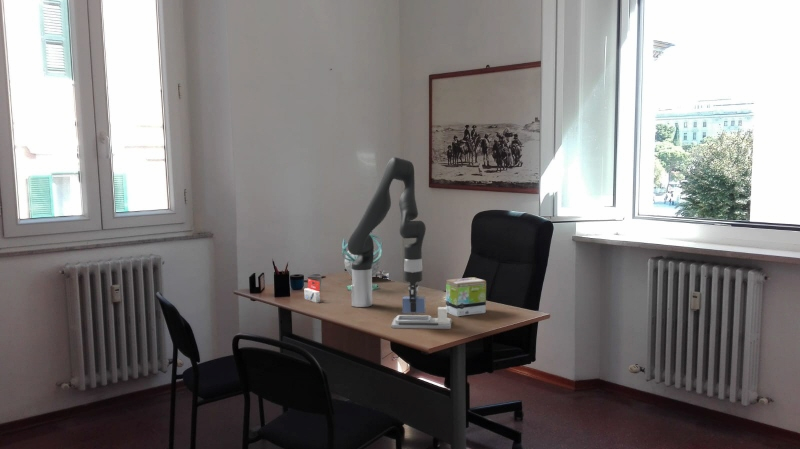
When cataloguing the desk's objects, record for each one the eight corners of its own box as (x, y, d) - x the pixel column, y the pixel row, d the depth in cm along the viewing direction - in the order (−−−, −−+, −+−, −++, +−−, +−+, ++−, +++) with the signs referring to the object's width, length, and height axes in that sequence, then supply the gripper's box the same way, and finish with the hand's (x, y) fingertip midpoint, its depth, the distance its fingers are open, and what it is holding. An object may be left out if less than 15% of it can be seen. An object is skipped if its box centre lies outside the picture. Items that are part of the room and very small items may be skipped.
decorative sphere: (386, 279, 366) (386, 244, 364) (355, 283, 355) (354, 247, 353) (368, 274, 383) (368, 240, 380) (338, 278, 372) (337, 243, 370)
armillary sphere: (359, 280, 363) (360, 218, 357) (392, 290, 345) (394, 224, 339) (329, 287, 347) (329, 222, 342) (362, 297, 330) (363, 228, 324)
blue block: (402, 313, 268) (402, 298, 268) (403, 310, 272) (403, 296, 272) (424, 313, 267) (424, 298, 267) (425, 310, 271) (425, 296, 271)
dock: (391, 327, 265) (391, 310, 265) (394, 320, 277) (394, 304, 276) (450, 328, 263) (450, 311, 262) (451, 321, 275) (451, 304, 274)
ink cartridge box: (316, 302, 312) (315, 282, 311) (304, 299, 321) (303, 279, 320) (320, 302, 314) (320, 281, 313) (308, 298, 322) (308, 278, 321)
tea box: (457, 317, 281) (457, 283, 279) (445, 312, 290) (445, 279, 288) (486, 313, 288) (486, 279, 286) (473, 308, 297) (473, 276, 295)
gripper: (405, 266, 275) (406, 306, 277) (402, 272, 261) (403, 314, 263) (423, 266, 275) (423, 306, 276) (421, 272, 261) (421, 314, 262)
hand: (413, 310), depth 270 cm, fingers closed on blue block, 4 cm apart
